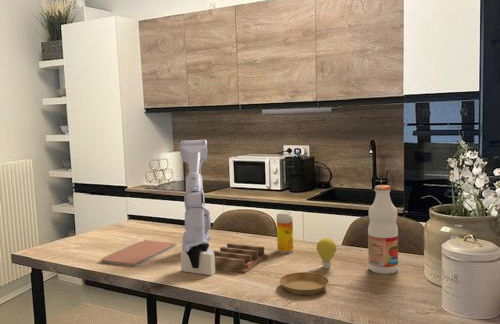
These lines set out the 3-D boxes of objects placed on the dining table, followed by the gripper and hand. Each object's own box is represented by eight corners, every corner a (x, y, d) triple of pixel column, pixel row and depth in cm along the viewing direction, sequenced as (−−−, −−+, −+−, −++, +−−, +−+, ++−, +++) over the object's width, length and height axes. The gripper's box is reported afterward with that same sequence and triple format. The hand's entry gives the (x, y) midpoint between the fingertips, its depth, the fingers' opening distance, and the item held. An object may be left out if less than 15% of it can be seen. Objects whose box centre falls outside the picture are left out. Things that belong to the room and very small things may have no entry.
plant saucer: (288, 277, 148) (288, 269, 148) (333, 282, 143) (333, 274, 142) (273, 294, 135) (272, 286, 134) (322, 301, 129) (322, 292, 129)
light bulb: (338, 264, 158) (337, 236, 157) (335, 271, 152) (334, 241, 151) (318, 263, 160) (318, 235, 159) (315, 269, 154) (314, 240, 153)
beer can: (292, 253, 172) (291, 214, 170) (276, 253, 173) (275, 214, 172) (294, 249, 178) (293, 211, 176) (278, 248, 179) (277, 211, 177)
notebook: (143, 243, 195) (143, 239, 195) (176, 247, 188) (176, 242, 188) (98, 263, 171) (98, 258, 170) (135, 268, 164) (134, 263, 164)
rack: (202, 267, 161) (201, 256, 160) (227, 252, 177) (226, 242, 176) (245, 273, 153) (245, 261, 153) (267, 257, 169) (267, 246, 169)
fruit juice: (369, 264, 157) (368, 183, 154) (398, 266, 154) (397, 183, 152) (367, 273, 148) (366, 188, 145) (398, 275, 146) (397, 188, 143)
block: (181, 270, 157) (180, 251, 156) (185, 268, 159) (184, 249, 159) (211, 275, 152) (210, 254, 151) (215, 272, 154) (214, 252, 153)
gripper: (193, 233, 146) (196, 274, 147) (217, 222, 158) (218, 261, 160) (175, 231, 149) (177, 272, 150) (199, 221, 162) (201, 258, 163)
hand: (197, 266), depth 155 cm, fingers closed on block, 2 cm apart
